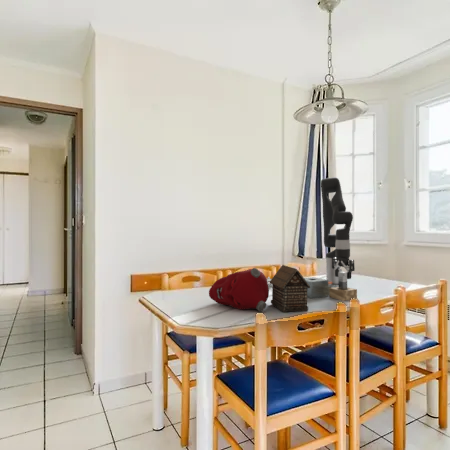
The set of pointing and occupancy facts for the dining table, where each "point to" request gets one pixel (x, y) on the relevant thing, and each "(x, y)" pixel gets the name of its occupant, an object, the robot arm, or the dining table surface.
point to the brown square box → (343, 293)
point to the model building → (289, 290)
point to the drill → (342, 280)
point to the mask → (241, 290)
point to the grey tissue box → (318, 287)
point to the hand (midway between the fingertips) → (342, 277)
